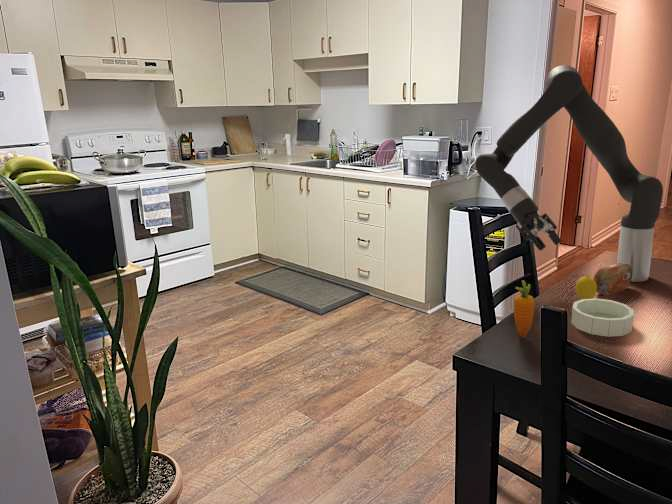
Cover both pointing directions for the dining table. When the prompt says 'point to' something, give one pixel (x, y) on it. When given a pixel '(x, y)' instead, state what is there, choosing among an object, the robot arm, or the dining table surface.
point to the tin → (613, 278)
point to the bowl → (602, 317)
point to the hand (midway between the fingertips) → (551, 246)
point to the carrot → (523, 310)
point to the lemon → (586, 287)
